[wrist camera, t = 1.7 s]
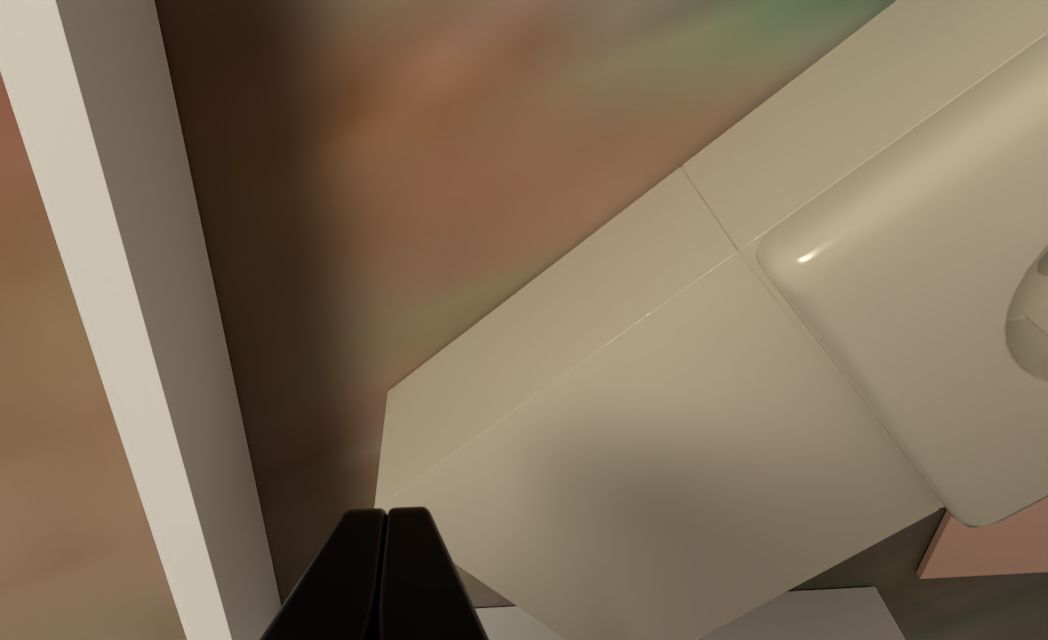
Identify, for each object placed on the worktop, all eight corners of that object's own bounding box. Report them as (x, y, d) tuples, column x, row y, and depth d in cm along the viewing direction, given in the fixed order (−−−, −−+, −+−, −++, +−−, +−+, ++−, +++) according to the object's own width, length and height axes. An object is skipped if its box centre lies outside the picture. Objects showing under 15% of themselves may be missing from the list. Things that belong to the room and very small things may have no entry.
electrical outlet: (368, 553, 12) (1860, -469, 6) (388, 391, 15) (1368, -363, 10) (632, 722, 15) (1763, 143, 10) (599, 558, 18) (1422, 63, 13)
